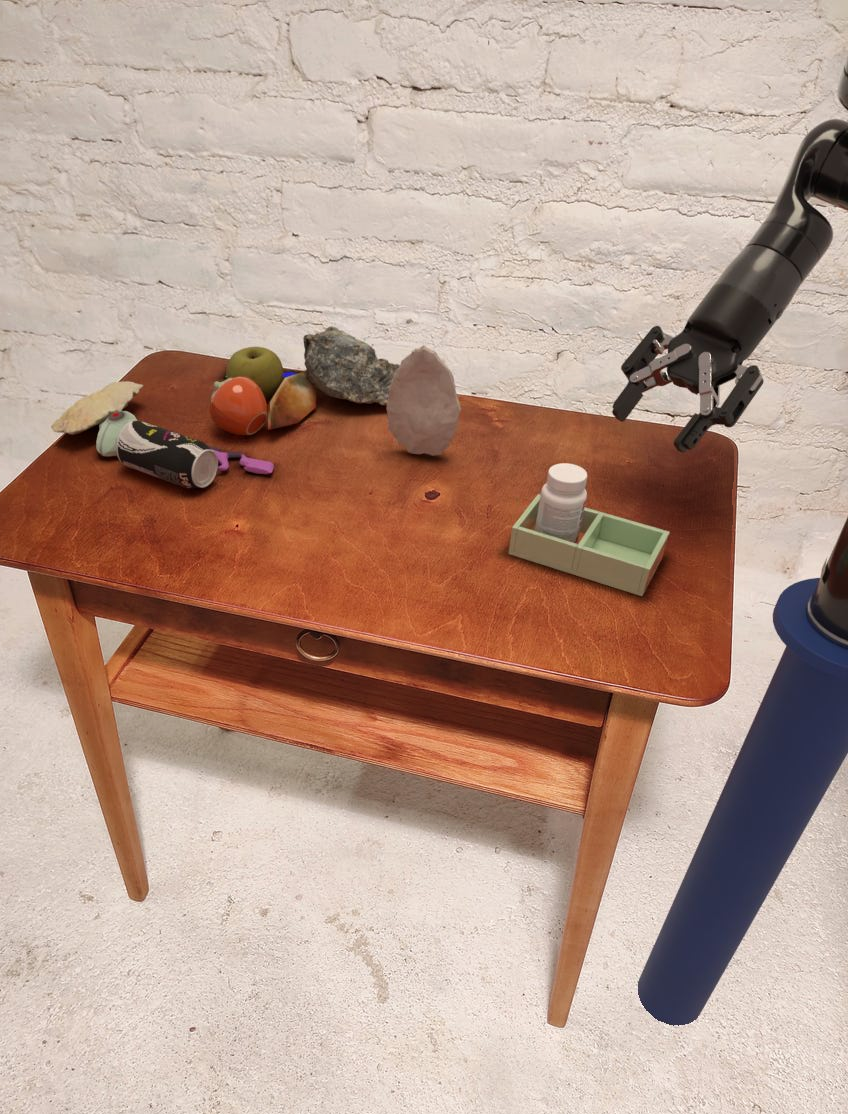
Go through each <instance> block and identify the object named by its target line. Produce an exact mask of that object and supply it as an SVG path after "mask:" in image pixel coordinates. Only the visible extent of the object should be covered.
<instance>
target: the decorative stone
mask: <svg viewBox="0 0 848 1114" xmlns="http://www.w3.org/2000/svg"><path fill="white" fill-rule="evenodd" d="M300 372H301V373H298V374H295V375H292V376H289V377H286V378H284V380H283V381H282V383H281V384H280V386H279V387H278V389H277V391H276V392H275V394H274V396H273V397H272V399H271V400H270V402H269V404H267V407H268V409H267V414H268V418H267V430H268V431H269V430H274V429H280V428H283V427H284V428H285V427H288V426H289V427H290V426H294V425H296V424H298V423H300V422H301V421H302V420H303V419H304V418H306V416H308V415H309V414H310V413H311V412H312V411H314V410H315V409H316V408H317V386H315V385H314V384H313V383H312V382H311V381H310V380H308V379H307V377H306V370H304V371H300Z"/></svg>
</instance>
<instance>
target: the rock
mask: <svg viewBox="0 0 848 1114" xmlns="http://www.w3.org/2000/svg"><path fill="white" fill-rule="evenodd" d="M302 339H303V347H304V352H303V358H304V367H305V371H306V377H307V379H308V380H310V381H311V382H312V383H313V384H314V385H315V387H316V388H318V389H319V390H321V392H323V393H324V394H325V395H327V396H329V397H331V398H337V399H342V400H347V401H349V402H351V403H353V402H354V403H355V404H361V405H362V404H374V403H377V404H379V405H380V406H387V403H388V398H389V389H390V385H391V381H392V379H393V377H394V375H395V373H396V371H397V369H398V368H399V366H400V364H399V363H394V362H389V360H388V359H386V358H378V357H377V354H376V349H374V348H373V346H371V345H370V344H369V343H367V342H366V341H364V340H360V339H357V338H356V336H353V335H351V334H349V333H347V332H345V331H343V330H341V329H339V328H337V327H335V326H329V327H327V328H325V330H323V331H320V332H317V333H315V334H312V333H311V334H310V333H308V334H304V336H303V338H302Z"/></svg>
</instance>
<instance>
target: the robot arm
mask: <svg viewBox="0 0 848 1114" xmlns="http://www.w3.org/2000/svg"><path fill="white" fill-rule="evenodd" d="M836 93H837V94H836V95H837V99H838V102H839V103H840V105H841V106H842V107H843V108H844V109H845V110H846V111H848V55H847V57H846V59H845V62H844V65H843V69H842V71H841V75H840V77H839V81H838V84H837V90H836ZM811 198H814V199H817V200H819V201H821V202H824V203H827V204H828V205H829V204H830V205H831V206H835V207H837V208H840V209H842V210H844V211H846V212H848V121H846V120H843V119H839V118H831V119H827V120H825V121H822V122H821V123H819V124H817V125H816V126H814V127H813V128H812V129H811V130H810V131H809V132H808V133H807V134H806V135H805V136H804V137H803V139H802V140H801V142H800V144H799V146H798V148H797V150H796V152H795V155H794V157H793V160H792V163H791V166H790V168H789V171H788V173H787V175H786V178H785V180H784V183H783V185H782V187H781V189H780V191H779V194H778V195H777V198H776V200H775V202H774V204H773V206H771V209H770V211H769V212H768V215H767V216H766V218H765V219H764V221H763V222H762V223H761V224H760V226H759V227H758V229H757V230H756V231H755V232H754V234H753V236H752V237H751V238H750V239H749V241H748V242H747V244H746V245H745V246H744V247H743V249H742V250H741V251H740V253H739V254H738V255H736V257H735V258H734V259H733V260H732V261H731V262H730V263H729V264H728V265H727V266H726V268H725V269H724V270H723V271H722V273H721V274H720V276H719V277H718V278H717V279H716V281H715V282H714V284H713V285H712V286H711V288H710V289H709V291H708V292H707V293H706V295H704V297H703V299H701V301H700V303H699V304H698V305H697V306H696V308H695V309H694V311H693V312H692V313H691V315H689V317H688V318H687V321H686V324H685V325H684V327H683V329H682V331H681V332H679V333H678V334H677V335H675V336H671V335H670V334H667V333H666V332H664V331H663V329H662V327H661V326H660V325H655V326H653V327H651V328H650V330H649V331H648V332H647V333H646V335H645V336H644V337H643V338H642V340H641V341H640V342H639V343H638V345H637V346H636V347H635V348H634V350H633V351H632V352H631V353H630V354H629V355H628V357H627V358H626V359H625V361H624V362H623V363H622V365H621V366H620V370H621V371H622V373H623V374H624V376H625V378H626V379H627V384H626V386H625V387H624V388H623V390H622V391H621V392H620V393H619V395H618V396H617V397H616V399H615V400H614V402H613V403H612V411H611V413H612V415H613V416H614V418H615V419H616V420H617V421H619V422H621V423H623V422H625V421H626V420H627V418H628V417H629V416H630V414H631V413H632V412H633V410H634V409H635V408H636V406H638V403H639V402H640V401H641V400H642V398H643V397H644V394H643V393H645V392H647V391H650V390H652V389H654V388H656V387H665V386H667V385H669V384H671V383H672V384H673V385H674V386H676V387H678V388H682V389H684V388H685V389H687V390H688V391H689V392H690V393H692V394H694V395H696V396H698V395H699V413H696V412H694V414H693V415H692V416H691V418H690V419H689V420H688V422H687V423H686V424H685V426H684V427H683V428H682V430H680V432H679V434H678V435H677V436H676V437H675V438H674V441H673V446H674V447H675V449H676V450H677V451H678V452H680V453H682V454H685V453H686V452H687V451H688V450H689V451H691V450H693V449H694V448H695V447H696V446H697V445H698V443H700V441H701V439H702V438H703V437H704V436H705V434H706V433H707V432H708V430H709V429H710V428H711V427H713V426H715V425H720V426H721V425H722V426H724V427H726V428H733V427H734V426H735V425H736V424H737V422H738V421H739V419H740V418H741V417H742V415H743V413H744V412H745V410H746V409H747V408H748V406H749V405H750V403H751V402H752V400H753V399H754V398H755V396H756V395H757V393H758V392H759V391H760V389H761V388H762V386H763V385H764V381H765V380H764V378H763V374H762V373H761V369H759V367H758V366H757V365H755V364H753V365H749V366H744V365H743V364H744V362H745V361H747V359H749V358H750V356H751V355H752V354H753V353H754V351H755V349H756V348H757V347H758V346H759V344H760V343H761V342H762V341H763V339H764V338H765V337H766V335H768V333H769V331H770V330H771V329H772V327H773V326H774V325H775V324H776V323H777V321H778V320H779V319H780V318H781V317H782V316H783V314H784V312H785V310H786V309H787V307H789V305H790V303H791V302H792V300H793V299H794V297H795V295H796V293H797V291H798V290H799V288H800V287H801V285H802V284H803V283H804V282H805V280H806V279H807V277H808V276H809V275H810V273H811V272H812V271H813V270H814V268H815V267H816V266H817V265H818V263H819V262H820V261H821V260H822V258H823V256H825V254H826V253H827V251H828V250H829V248H830V247H831V244H832V242H833V239H834V230H833V229H834V228H833V226H832V225H831V222H830V221H829V220H828V218H826V216H825V215H824V214H822V212H820V211H819V210H818V209H817V208H815V207H814V205H812V204H811V203H809V200H810V199H811ZM666 350H667V353H666V354H664V352H665V351H666ZM663 354H664V355H663ZM659 355H662V356H660V357H658V358H657V356H659ZM664 369H666V371H663V370H664ZM733 380H734V384H735V386H733V388H732V390H730V392H729V394H728V395H727V397H726V398H725V400H724V402H723V403H722V405H721V406H720V394H721V393H720V392H721V388H720V387H721V386H723V385H724V384H726V383H729V382H730V381H733ZM719 406H720V407H719ZM820 571H821V572H820V577H819V578H820V580H819V582H818V584H817V586H816V588H815V590H814V592H813V594H812V596H811V598H810V600H809V602H808V604H807V607H806V616H807V619H808V621H809V623H810V624H811V626H812V627H813V628H814V629H815V630H816V631H817V632H818V633H819V634H820V635H821V636H823V637H824V638H826V639H827V640H829V641H831V642H832V643H834V644H836V645H838V646H841V647H843V648H846V649H848V516H847V517H846V519H845V522H844V524H843V526H842V528H841V530H840V532H839V535H838V537H837V540H836V542H835V545H834V546H833V549H832V551H831V553H830V555H829V558H828V557H826V559H825V560H824V562H823V565H822V567H821V570H820Z"/></svg>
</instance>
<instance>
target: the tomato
mask: <svg viewBox="0 0 848 1114" xmlns="http://www.w3.org/2000/svg"><path fill="white" fill-rule="evenodd" d="M213 387H214V390H213V392H212V394H211V396H210V403H209V413H210V417H211V419H212V421H213V422H214V423H215V425H216V426H217V427H219V428H220V429H221V430H223V431H225V432H228V433H230V434H232V435H236V436H251V435H254V434H256V433H257V432H258V431H260V430H261V429H262V427H264V425H265V424H266V422H267V421H268V404H267V403H266V399H265V396H264V394H263V392H262V390H261V388H260V387H259V386H258V384H257V383H256V382H254V381H253V380H252V379H250V378H248V377H244V376H239V377H234V378H229V379H227V380H225V379H224V380H223V381H221V382H220V381H214V383H213Z"/></svg>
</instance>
